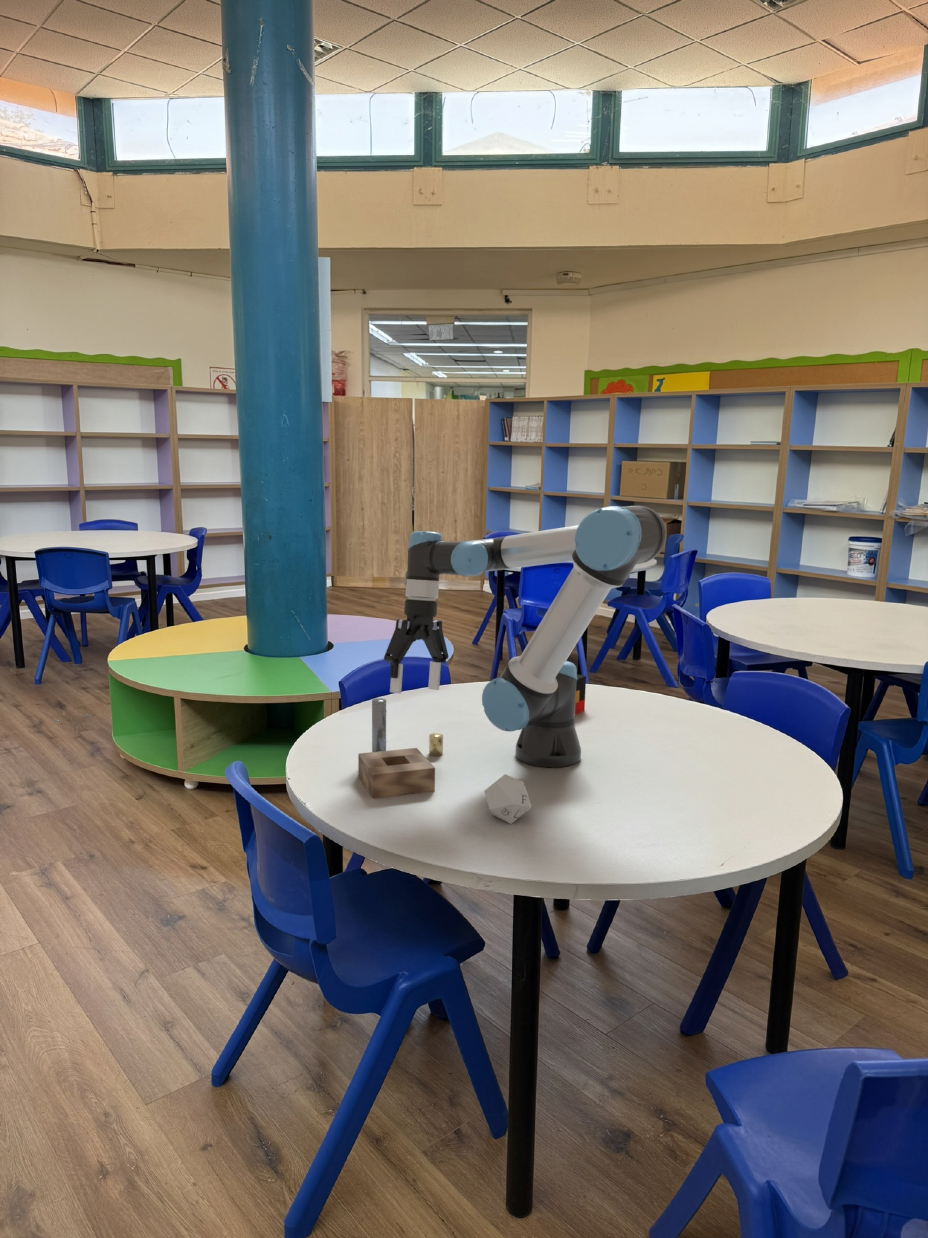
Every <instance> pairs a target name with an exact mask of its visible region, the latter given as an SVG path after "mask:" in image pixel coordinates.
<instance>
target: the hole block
mask: <svg viewBox="0 0 928 1238" xmlns="http://www.w3.org/2000/svg"><path fill="white" fill-rule="evenodd" d="M357 755H358V757H357V758H358V767H357V768H358V777H359V779H360V781H361V782H362V783H363V785H364V787H365V788H366V790H367V791H368V793H369V794H370V796H371V797H372V799H379V798H387V797H396V796H403V795H404V796H405V795H413V794H421V793H429V792H435V786H436V785H435V784H436V767H435V766H434V765H433V764H432V762H430V761H429V759H428V758H426V756H425V755H424V754H423V753H422V752H421V750H419V749H418V748H417V747H411V748H410V747H409V748H403V749H402V748H401V749H391V750H386V751H380V752H372V751H371V752H363V753H362V752H360V753H358V754H357Z"/></svg>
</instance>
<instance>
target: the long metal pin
mask: <svg viewBox="0 0 928 1238" xmlns="http://www.w3.org/2000/svg"><path fill="white" fill-rule="evenodd" d="M380 751H387V699H385V698H381V697H377V698H373V699H372V700H371V752H380Z"/></svg>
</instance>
